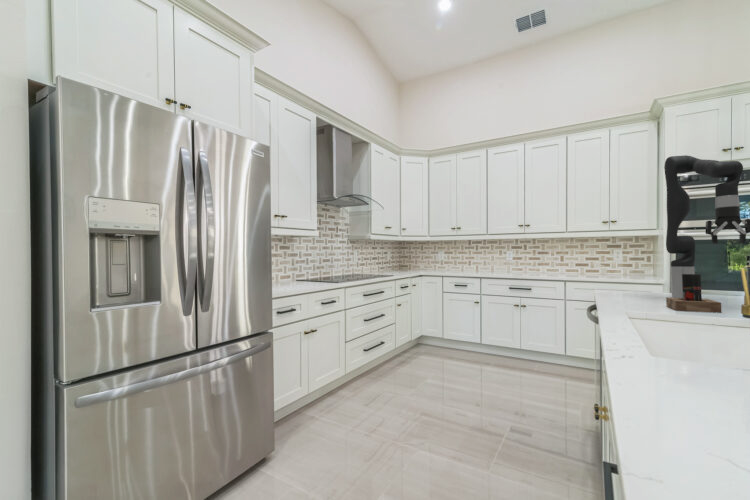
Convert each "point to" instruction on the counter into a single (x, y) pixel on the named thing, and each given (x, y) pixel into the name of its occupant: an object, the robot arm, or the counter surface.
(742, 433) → the counter surface
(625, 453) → the counter surface
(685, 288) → the deodorant
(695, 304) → the socket block
